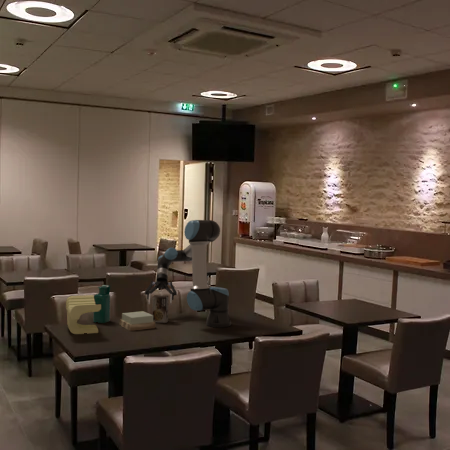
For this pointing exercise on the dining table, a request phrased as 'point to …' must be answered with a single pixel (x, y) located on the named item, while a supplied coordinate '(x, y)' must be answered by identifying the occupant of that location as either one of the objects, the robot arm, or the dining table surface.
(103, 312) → the green bottle
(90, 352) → the dining table surface
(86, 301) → the slatted curved stool
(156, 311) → the coffee box
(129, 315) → the white flat square block
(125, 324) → the tower base
